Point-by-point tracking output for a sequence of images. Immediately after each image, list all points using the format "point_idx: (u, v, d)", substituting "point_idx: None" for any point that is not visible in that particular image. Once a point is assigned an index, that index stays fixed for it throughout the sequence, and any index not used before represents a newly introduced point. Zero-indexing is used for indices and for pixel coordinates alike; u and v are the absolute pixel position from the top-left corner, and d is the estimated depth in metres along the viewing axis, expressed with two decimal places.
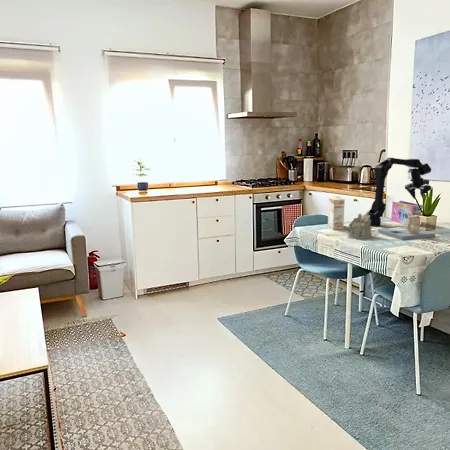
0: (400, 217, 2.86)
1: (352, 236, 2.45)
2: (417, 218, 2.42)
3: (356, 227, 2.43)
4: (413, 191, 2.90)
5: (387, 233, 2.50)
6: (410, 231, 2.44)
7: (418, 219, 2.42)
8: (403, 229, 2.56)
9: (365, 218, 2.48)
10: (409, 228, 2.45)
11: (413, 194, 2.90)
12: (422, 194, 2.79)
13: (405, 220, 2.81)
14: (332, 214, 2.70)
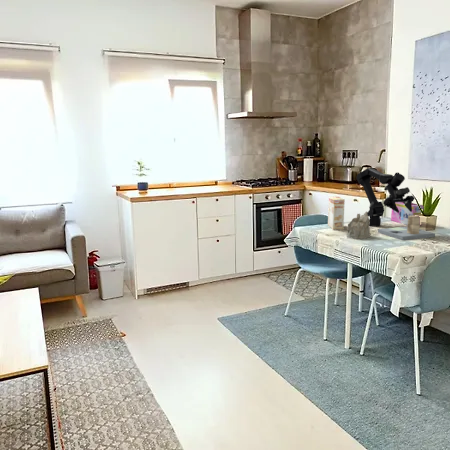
0: (400, 217, 2.86)
1: (351, 236, 2.45)
2: (417, 218, 2.42)
3: (355, 227, 2.44)
4: (408, 204, 2.55)
5: (387, 233, 2.50)
6: (410, 231, 2.44)
7: (418, 219, 2.42)
8: (403, 229, 2.56)
9: (364, 218, 2.48)
10: (409, 228, 2.45)
11: (408, 207, 2.54)
12: None
13: (406, 220, 2.81)
14: (332, 214, 2.70)
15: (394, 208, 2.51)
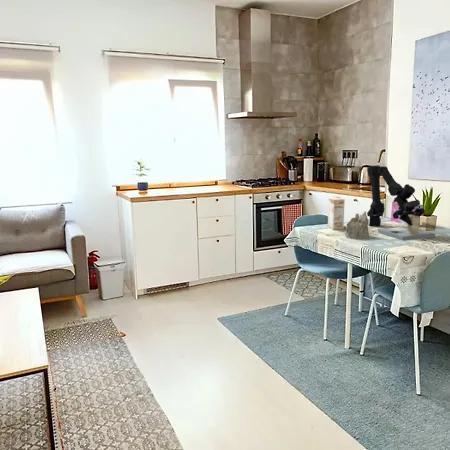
0: None
1: (350, 236, 2.46)
2: (417, 218, 2.42)
3: (354, 227, 2.44)
4: None
5: (387, 233, 2.50)
6: (410, 231, 2.44)
7: (418, 219, 2.42)
8: (403, 229, 2.56)
9: (362, 218, 2.48)
10: (409, 228, 2.45)
11: None
12: (403, 220, 2.47)
13: None
14: (332, 214, 2.70)
15: (407, 221, 2.44)
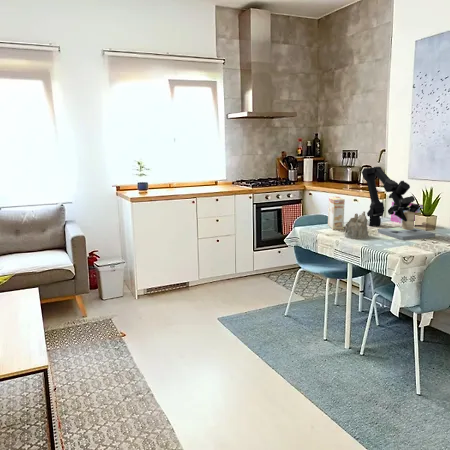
0: None
1: (349, 236, 2.46)
2: (412, 214, 2.46)
3: (353, 227, 2.44)
4: None
5: (387, 233, 2.50)
6: (405, 227, 2.48)
7: (413, 215, 2.46)
8: (403, 229, 2.56)
9: (362, 218, 2.48)
10: (404, 224, 2.49)
11: None
12: (398, 216, 2.51)
13: None
14: (332, 214, 2.70)
15: (402, 217, 2.48)
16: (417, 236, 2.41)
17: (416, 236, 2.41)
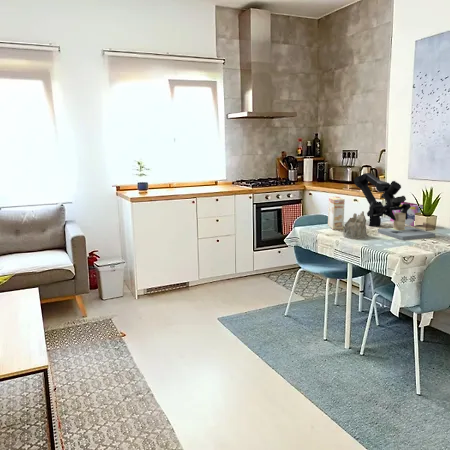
0: None
1: (348, 236, 2.46)
2: (403, 215, 2.53)
3: (352, 227, 2.44)
4: (403, 212, 2.58)
5: (387, 233, 2.50)
6: (396, 227, 2.56)
7: (404, 216, 2.54)
8: None
9: (360, 218, 2.49)
10: (396, 225, 2.56)
11: None
12: None
13: (407, 220, 2.80)
14: (332, 214, 2.70)
15: (391, 216, 2.55)
16: (417, 236, 2.41)
17: (416, 236, 2.41)
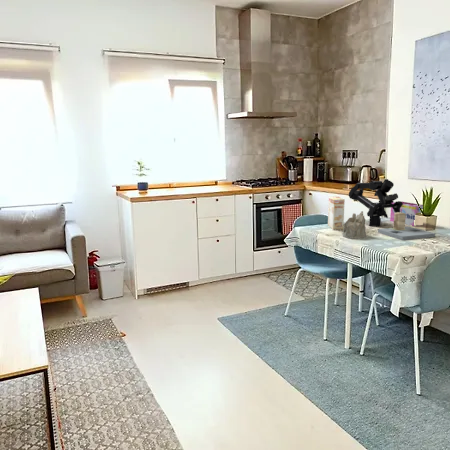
0: None
1: (347, 236, 2.46)
2: (403, 215, 2.53)
3: (351, 227, 2.45)
4: (396, 209, 2.65)
5: (387, 233, 2.50)
6: (396, 227, 2.56)
7: (404, 216, 2.54)
8: None
9: (360, 218, 2.49)
10: (396, 225, 2.56)
11: (397, 212, 2.64)
12: (379, 213, 2.64)
13: (407, 220, 2.80)
14: (332, 214, 2.70)
15: (383, 213, 2.61)
16: (417, 236, 2.41)
17: (416, 236, 2.41)
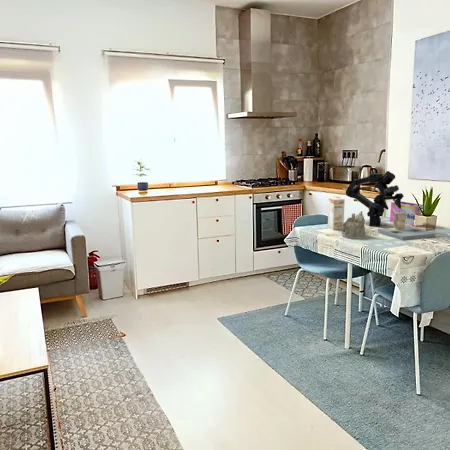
0: None
1: (347, 236, 2.46)
2: (403, 215, 2.53)
3: (350, 227, 2.45)
4: (397, 201, 2.65)
5: (387, 233, 2.50)
6: (396, 227, 2.56)
7: (404, 216, 2.54)
8: None
9: (359, 218, 2.49)
10: (396, 225, 2.56)
11: (398, 204, 2.64)
12: (380, 205, 2.64)
13: (407, 220, 2.79)
14: (332, 214, 2.70)
15: (384, 205, 2.61)
16: (417, 236, 2.41)
17: (416, 236, 2.41)
